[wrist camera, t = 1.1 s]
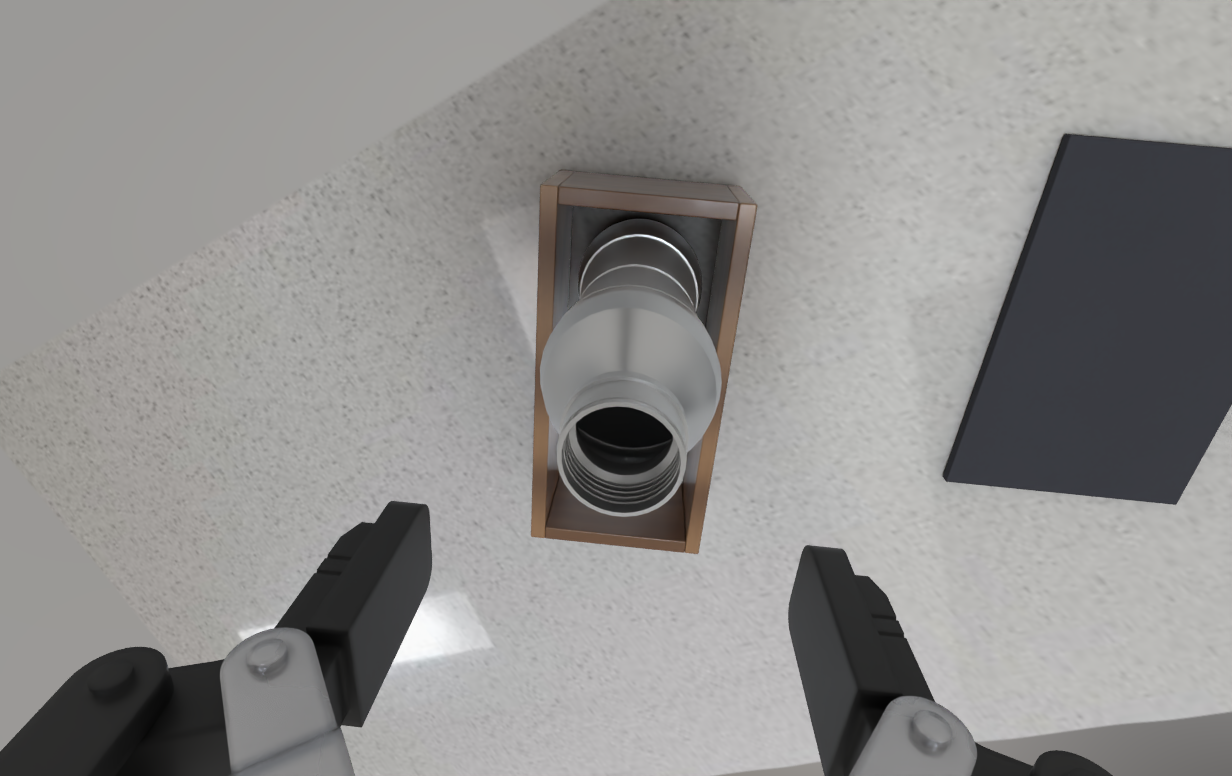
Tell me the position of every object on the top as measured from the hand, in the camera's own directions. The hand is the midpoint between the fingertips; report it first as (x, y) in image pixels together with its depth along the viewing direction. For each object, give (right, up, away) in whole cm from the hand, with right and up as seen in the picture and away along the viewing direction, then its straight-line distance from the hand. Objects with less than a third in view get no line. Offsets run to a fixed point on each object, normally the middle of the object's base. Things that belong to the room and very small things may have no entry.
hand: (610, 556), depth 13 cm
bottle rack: (+1, +6, +24) cm, 24 cm away
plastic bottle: (+2, +10, +22) cm, 24 cm away
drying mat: (+28, +6, +22) cm, 36 cm away
